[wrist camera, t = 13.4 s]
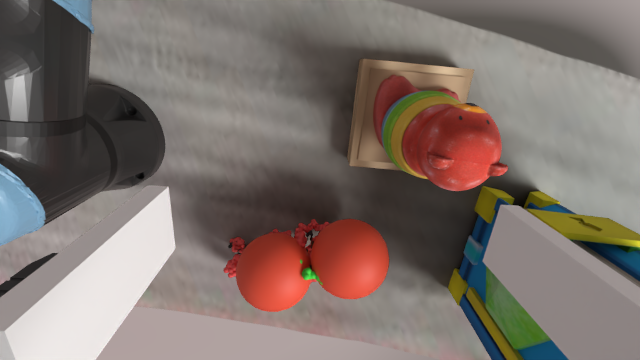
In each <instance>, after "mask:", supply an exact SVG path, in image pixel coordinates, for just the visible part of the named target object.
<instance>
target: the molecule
mask: <svg viewBox="0 0 640 360" xmlns="http://www.w3.org/2000/svg"><path fill="white" fill-rule="evenodd" d="M298 227H299V228H296V229H295V236H294V238H293V237H292V236H291V231H290V230H287V231H286V232H283V233H282V232H279V231H278V230H277V229H274V230H273V232H270V233H269V234H265V235H262V236H260V237H258V238H256V239H254V240H253V241H252V242H251V243H249V244H248V245H247V247H246V248H245V249H244V246H245V245H244V243H245V241H244V240H243V239H241V238H240V237H236V238H235V239H234V238H231V239H230V245H229V246H228V247H229V248H231V247H232V252H238V251H239V252H240V253H238V254H235V255H234V257H233V259H232V260H229V261H228V263H227V265H226V267H225V268H224V272H225V273H228V272H229V274H228V277H230V278H232V277H234V276H236V280H237V285H238V287H239V290H240V292H241V294H242V296H243V297H244V298H245V300H246V301H247V302H248V303H250V304H251V305H252V306H254V307H255V308H258V309H260V310H263V311H269V312H278V311H281V310H285V309H288V308H290V307H292V306H293V305H295V304H296V303H297V302H299V301H300V300H301V299H302V298H303V296H304V295H305V293H306V292H307V290H308V288H309V285H310V283H311V282H316V281H318V282H319V284H320V285H321V286H322V287H323V288H324V289H325V290H326V291H328V292H329V293H331V294H332V295H334V296H337V297H340V298H343V299H358V298H361V297H365V296H367V295H369V294H371V293H372V292H374V291H375V290H376V289H377V288H378V287H379V286H380V285H381V284H382V282H383V281H384V279H385V277H386V274H387V271H388V267H389V254H388V250H387V246H386V243H385V241H384V240H383V238H382V236H381V235H380V233H379V232H378V231H377V230H376V229H375V228H373V227H372V226H371V225H369V224H368V223H365V222H363V221H361V220H355V219H343V220H338V221H335V222H333V223H331V224H329V222H325V223H324V224H321V225H319V224H318V223H317V222H316V220H315V219H312V220H311V223H310V224H308V226H306V225H304V224H303V223H299V224H298ZM312 229H314V230H315V231H319V233H318V236H315V238H312V236H313V233H312ZM304 231H305V232H306V233H307V234H305V232H304ZM305 235H306V236H307V238H306V237H305ZM309 235H311V238H310V241H311V243H310V245H308V246H307V247H306V248H305V244H306V243H307V240H308V236H309ZM239 254H241V255H239Z"/></svg>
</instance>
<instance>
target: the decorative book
mask: <svg viewBox="0 0 640 360" xmlns="http://www.w3.org/2000/svg"><path fill="white" fill-rule="evenodd" d="M513 202H514V198H513V197H511V196H510V195H508V194H507V193H505V192H504V191H502V190H498V189H494V188H490V187H485V186H482V189H481V192H480V195H479V197H478V200H477V203H476V206H475V209H474V210H475V211H476V212H477V213H478V214H479V215H478V218H477V221H476V224H475V227H474V229H473V232H472V235H469V238H468V241H467V244H466V247H465V249H464V252H463V253H464V254H465V255H464V258H463V261H462V264H461V267H460V270H458V269H456V268H454V271H453V274H452V277H451V280H450V283H449V286H448V289H449V291H450V292H451V294H452V296H453V298H454V299H455V301H456V303H457V305H459V306H461V308H462V310H463V311H464V313H465V315H466V317H467V318H468V320H469V322H470V323H471V325H472V327H473V328H474V330H475V332H476V334H477V335H478V337H479V339H480V340H481V342H482V344H483V345H484V347H485V349H486V351H487V352H488V354H489V356H490V357H491V359H492V360H569V359H568V358H567V357H566V356H565V355H564V354H563V352H562V351H561V350H560V349H559V348H558V347H557V346H556V344H555V343H554V342H553V341H552V340H551V339H550V338H549V337H548V335H547V334H546V333H545V332H544V331H543V330H542V329H541V327H540V326H539V325H538V324H537V323H536V322H535V321H534V319H533V318H532V317H531V316H530V315H529V314H528V313H527V311H526V310H525V309H524V308H523V307H522V306H521V305H520V304H519V302H518V301H517V300H516V299H515V298H514V297H513V296H512V294H511V293H510V292H509V291H508V290H507V289H506V288H505V286H504V285H503V284H502V283H501V282H500V281H499V280H498V278H497V277H496V276H495V275H494V274H493V273H492V272H491V270H490V269H489V268H488V267H487V266H486V265H485V264H484V263H483V258H484V255H485V252H486V249H487V246H488V243H489V240H490V236H491V233H492V230H493V227H494V224H495V221H496V218H497V215H498V211H499V208H500V205H513ZM523 209H524V210H526V211H527V212H529V213H530V214H532V215H533V216H535V217H536V218H538V219H539V220H541V221H542V222H544V223H545V224H547V225H548V226H550V227H551V228H552V229H554V230H555V231H557V232H558V233H560V234H561V235H563V236H564V237H566V238H567V239H569V240H570V241H572V242H573V243H575V244H576V245H578V246H579V247H581V248H582V249H583V250H585V251H586V252H588V253H589V254H591V255H592V256H594V257H595V258H597V259H598V260H600V261H601V262H603V263H604V264H606V265H607V266H609V267H610V268H612V269H613V270H614V271H616V272H617V273H619V274H620V275H622V276H623V277H625V278H626V279H628V280H629V281H631V282H632V283H634V284H635V285H637V286H638V287H640V234H638V233H636V232H634V231H632V230H630V229H628V228H626V227H624V226H622V225H620V224H619V223H617V222H615V221H613V220H611V219H609V218H602V217H594V216H585V215H577V214H575V213H573V212H572V211H570V210H568V209H567V208H565V207H563V206H561V205H560V202H559V201H557V200H555V199H553V198H552V197H550V196H548V195H546V194H545V193H543V192H541V191H536V192H530V193H529V196H528V198H527V200H526V203H525V205H524V208H523Z"/></svg>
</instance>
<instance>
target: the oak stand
mask: <svg viewBox="0 0 640 360" xmlns="http://www.w3.org/2000/svg"><path fill="white" fill-rule="evenodd" d="M473 73H474V70H473V69H463V68H453V67H443V66H433V65H423V64H413V63H403V62H393V61H382V60H372V59H360V61H359V69H358V77H357V85H356V93H355V100H354V108H353V116H352V124H351V132H350V139H349V147H348V155H347V159H348V162H349V166H357V167H369V168H380V169H392V170H401V169H400V168H398V167H397V166H396V165H395V164H394V163H393V162H392V161H391V160H390V158H389V157H388V156H387V154H386V152H385V150H384V148H383V147H382V146H381V144H380V143H379V141H378V139H377V136H376V133H375V129H374V122H373V109H374V102H375V97H376V94H377V91H378V88H379V86H380V84H381V82H382V81H383V80H384V79H388V78H389V77H390V76H391V75H396V76H404V77H405V78H406V79H408V80H409V82H410V83H411V84H412V85H413V86H414V87H415V88H417V89H419V90H422V91H435V90H439V89H443V88H446V89H449V90H450V91H453V92H455V93H457V95H458V98H459V100H460V101H461V104H464V103H466V100H467V96H468V92H469V89H470V85H471V81H472V77H473Z"/></svg>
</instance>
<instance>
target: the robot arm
mask: <svg viewBox="0 0 640 360" xmlns="http://www.w3.org/2000/svg"><path fill="white" fill-rule="evenodd" d="M91 22H92V0H0V246H1V245H4V244H6V243H9V242H11V241H13V240H15V239H17V238H19V237H21V236H23V235H25V234H28V233H32V232H34V231H37V230H38V229H40V228H41V227H42V226H44V225H45V224H47V223H49V222H50V221H52V220H54V219H55V218H57V217H59V216H60V215H62V214H64V213H66V212H67V211H69V210H71V209H72V208H74V207H76V206H77V205H79V204H81V203H82V202H84V201H86V200H87V199H89V198H91V197H92V196H94V195H96V194H97V193H99V192H101V191H110V190H118V189H125V188H130V187H133V186H135V185H138V184H140V183H141V182H143V181H144V180H146V179H148V178H149V177H151V176H152V175H153V174H154V173H155V172H156V171H157V170H158V168H159V167H160V165H161V163H162V160H163V157H164V153H165V138H164V134H163V130H162V127H161V125H160V123H159V121H158V119H157V117H156V116H155V114H154V113H153V111H152V110H151V109H150V108H149V107H148V105H147V104H146V103H145V102H143V101H142V100H141V99H140V98H139V97H137V96H136V95H134V94H133V93H131V92H129V91H127V90H125V89H123V88H120V87H117V86H113V85H108V84H93V85H88V83H89V65H90V47H91V34H93V33H94V27H93V25H92V24H91ZM174 250H175V240H174V232H173V223H172V214H171V205H170V196H169V187H167V186H149V185H148V186H146V187H145V188H144V189H142V190H141V191H140V192H138V193H137V194H136V195H134V196H133V197H132V198H130V199H129V200H128V201H126V202H125V203H124V204H123V205H121V206H120V207H119V208H117V209H116V210H115V211H113V212H112V213H111V214H109V215H108V216H107V217H105V218H104V219H103V220H102V221H100V222H99V223H98V224H96V225H95V226H94V227H92V228H91V229H90V230H88V231H87V232H86V233H84V234H83V235H82V236H80V237H79V238H78V239H77V240H75V241H74V242H73V243H71V244H70V245H69V246H67V247H66V248H65V249H63V250H62V251H61V252H59V253H52V254H50V255H48V256H46V257H43V258H41V259H39V260H37V261H35V262H33V263H31V264H29V265H28V266H26V267H25V268H23V269H22V270H21V271H19V272H18V273H16V274H15V275H14V276H12V277H11V278H10V280H9V281H5V282H4V283H3V284H1V285H0V360H96V358H97V357H98V355H99V354H100V353H101V351H102V350H103V348H104V347H105V345H106V344H107V343H108V342H109V340H110V339H111V337H112V336H113V335H114V333H115V332H116V330H117V329H118V328H119V326H120V325H121V323H122V322H123V321H124V319H125V318H126V316H127V315H128V314H129V312H130V311H131V309H132V308H133V307H134V305H135V304H136V303H137V301H138V300H139V298H140V297H141V296H142V294H143V293H144V291H145V290H146V289H147V287H148V286H149V284H150V283H151V282H152V280H153V279H154V277H155V276H156V275H157V273H158V272H159V270H160V269H161V268H162V266H163V265H164V264H165V262H166V261H167V259H168V258H169V257H170V255H171V254H172V252H173V251H174ZM483 263H484V264H485V265H486V266H487V267H488V268H489V269H490V270H491V272H492V273H493V274H494V275H495V276H496V277H497V278H498V280H499V281H500V282H501V283H502V284H503V285H504V286H505V288H506V289H507V290H508V291H509V292H510V293H511V294H512V296H513V297H514V298H515V299H516V300H517V301H518V302H519V304H520V305H521V306H522V307H523V308H524V309H525V310H526V311H527V313H528V314H529V315H530V316H531V317H532V318H533V319H534V321H535V322H536V323H537V324H538V325H539V326H540V327H541V329H542V330H543V331H544V332H545V333H546V334H547V335H548V337H549V338H550V339H551V340H552V341H553V342H554V343H555V344H556V346H557V347H558V348H559V349H560V350H561V351H562V352H563V354H564V355H565V356H566V357H567V358H568V359H569V360H640V287H638V286H637V285H635V284H634V283H632V282H631V281H629V280H628V279H626V278H625V277H623V276H622V275H620V274H619V273H617V272H616V271H614V270H613V269H612V268H610V267H609V266H607V265H606V264H604V263H603V262H601V261H600V260H598V259H597V258H595V257H594V256H592V255H591V254H589V253H588V252H586V251H585V250H583V249H582V248H581V247H579V246H578V245H576V244H575V243H573V242H572V241H570V240H569V239H567V238H566V237H564V236H563V235H561V234H560V233H558V232H557V231H555V230H554V229H552V228H551V227H550V226H548V225H547V224H545V223H544V222H542V221H541V220H539V219H538V218H536V217H535V216H533V215H532V214H530V213H529V212H527V211H526V210H524V209H523V208H521V207H520V206H516V205H500V208H499V211H498V215H497V218H496V221H495V224H494V227H493V230H492V233H491V236H490V240H489V243H488V246H487V249H486V252H485V255H484V258H483Z"/></svg>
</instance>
